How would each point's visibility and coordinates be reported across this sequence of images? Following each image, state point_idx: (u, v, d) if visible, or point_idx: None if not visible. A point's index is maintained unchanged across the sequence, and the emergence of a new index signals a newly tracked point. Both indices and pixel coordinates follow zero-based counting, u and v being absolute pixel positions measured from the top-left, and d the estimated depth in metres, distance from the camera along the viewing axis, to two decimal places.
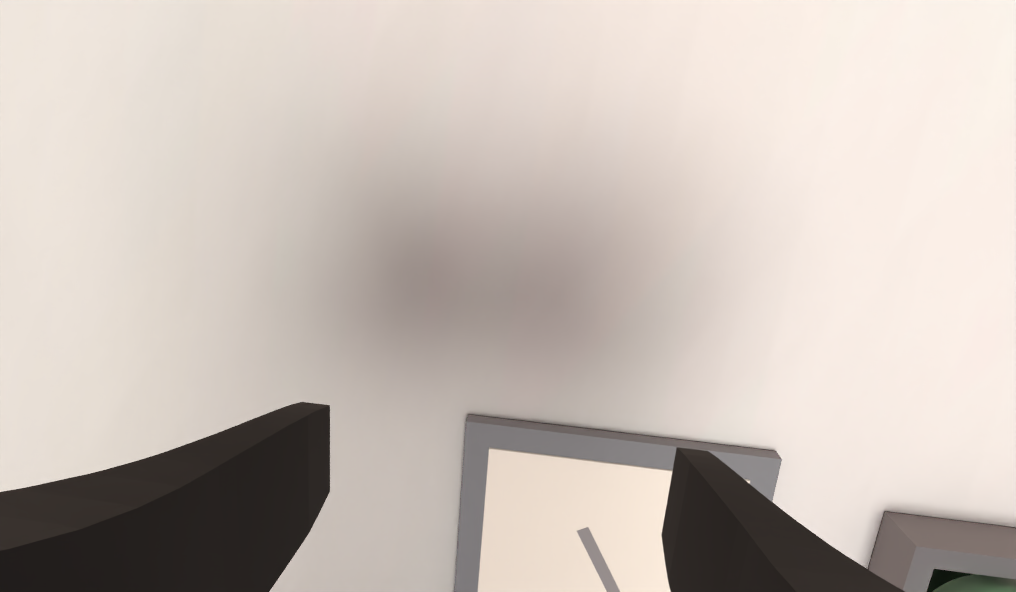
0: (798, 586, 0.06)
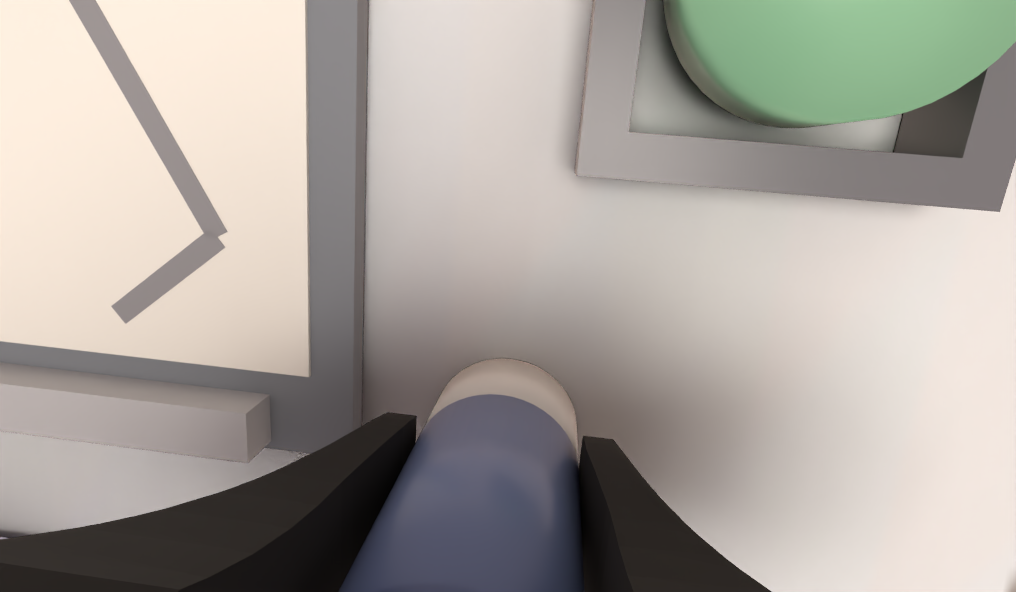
0: (631, 563, 0.06)
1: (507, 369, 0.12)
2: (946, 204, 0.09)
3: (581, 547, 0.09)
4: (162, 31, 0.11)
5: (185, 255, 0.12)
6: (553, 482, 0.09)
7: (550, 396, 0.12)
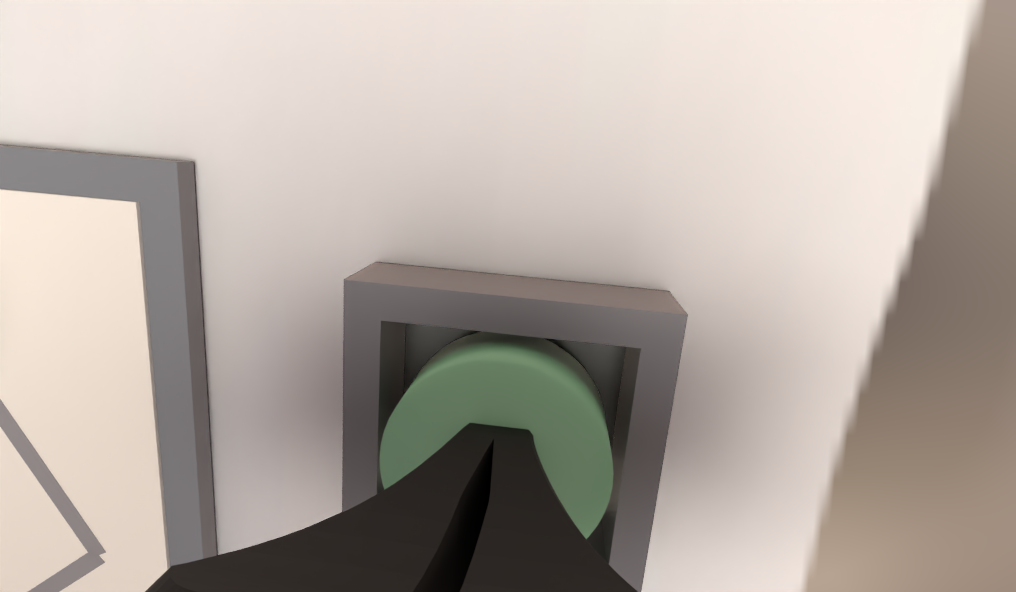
0: (483, 543, 0.06)
1: None
2: None
3: None
4: (50, 416, 0.15)
5: (75, 566, 0.16)
6: None
7: None
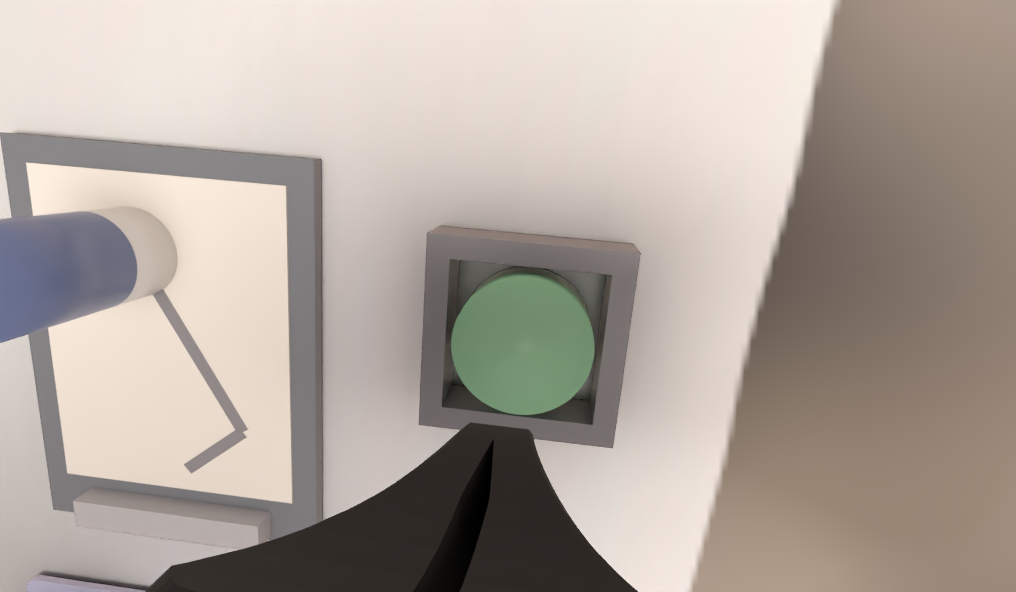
0: (483, 543, 0.06)
1: (116, 208, 0.20)
2: (590, 443, 0.20)
3: (68, 264, 0.16)
4: (215, 333, 0.22)
5: (225, 440, 0.23)
6: (60, 234, 0.17)
7: (132, 219, 0.19)
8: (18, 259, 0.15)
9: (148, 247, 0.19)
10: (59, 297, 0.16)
